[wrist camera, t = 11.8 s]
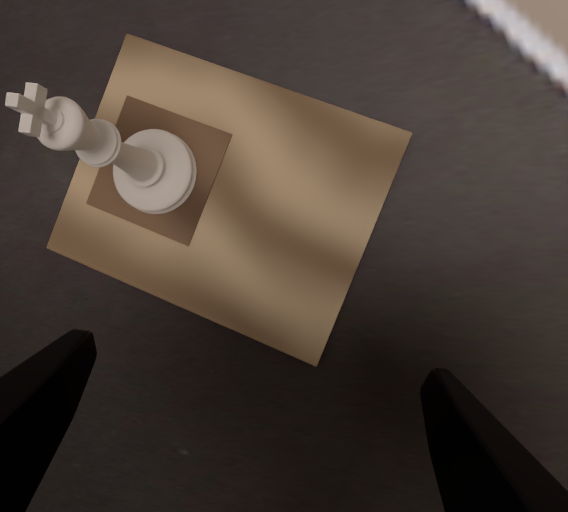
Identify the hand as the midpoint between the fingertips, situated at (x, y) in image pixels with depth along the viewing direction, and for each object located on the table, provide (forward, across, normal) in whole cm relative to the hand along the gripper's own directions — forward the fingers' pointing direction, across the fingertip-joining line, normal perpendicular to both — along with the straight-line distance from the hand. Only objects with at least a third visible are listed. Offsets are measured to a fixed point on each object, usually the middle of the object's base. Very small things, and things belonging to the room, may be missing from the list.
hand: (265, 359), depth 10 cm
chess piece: (+14, +7, +1) cm, 16 cm away
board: (+13, +3, +2) cm, 14 cm away
